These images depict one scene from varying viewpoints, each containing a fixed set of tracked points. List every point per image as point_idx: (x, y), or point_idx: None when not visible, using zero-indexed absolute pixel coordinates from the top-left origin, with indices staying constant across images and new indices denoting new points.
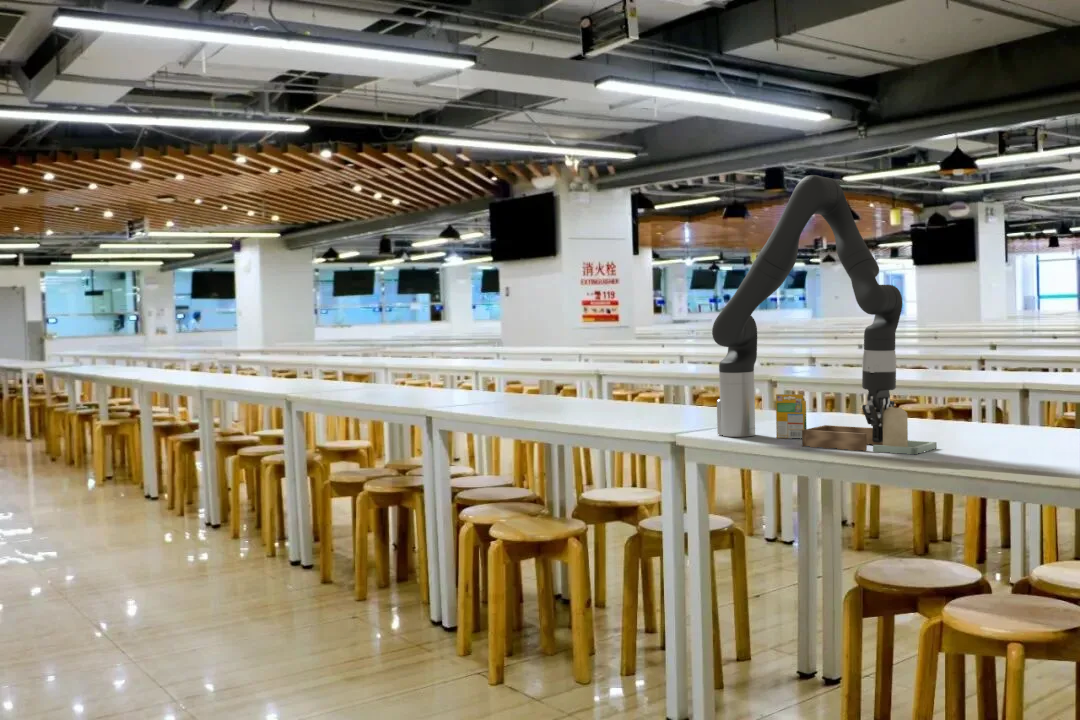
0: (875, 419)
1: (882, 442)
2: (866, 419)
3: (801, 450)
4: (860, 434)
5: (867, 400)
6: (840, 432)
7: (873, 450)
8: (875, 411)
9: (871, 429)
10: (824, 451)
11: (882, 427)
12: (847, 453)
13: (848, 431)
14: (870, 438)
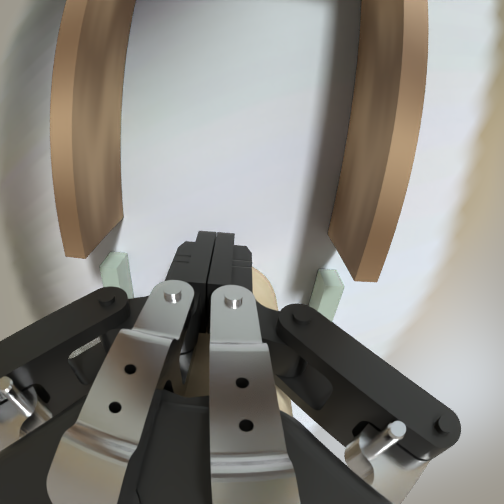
0: (77, 364)
1: (333, 229)
2: (60, 310)
3: (33, 6)
4: (62, 231)
5: (49, 470)
6: (52, 97)
7: (108, 256)
8: (52, 409)
9: (376, 192)
10: (32, 82)
11: (201, 331)
12: (30, 184)
13: (388, 32)
14: (355, 168)
